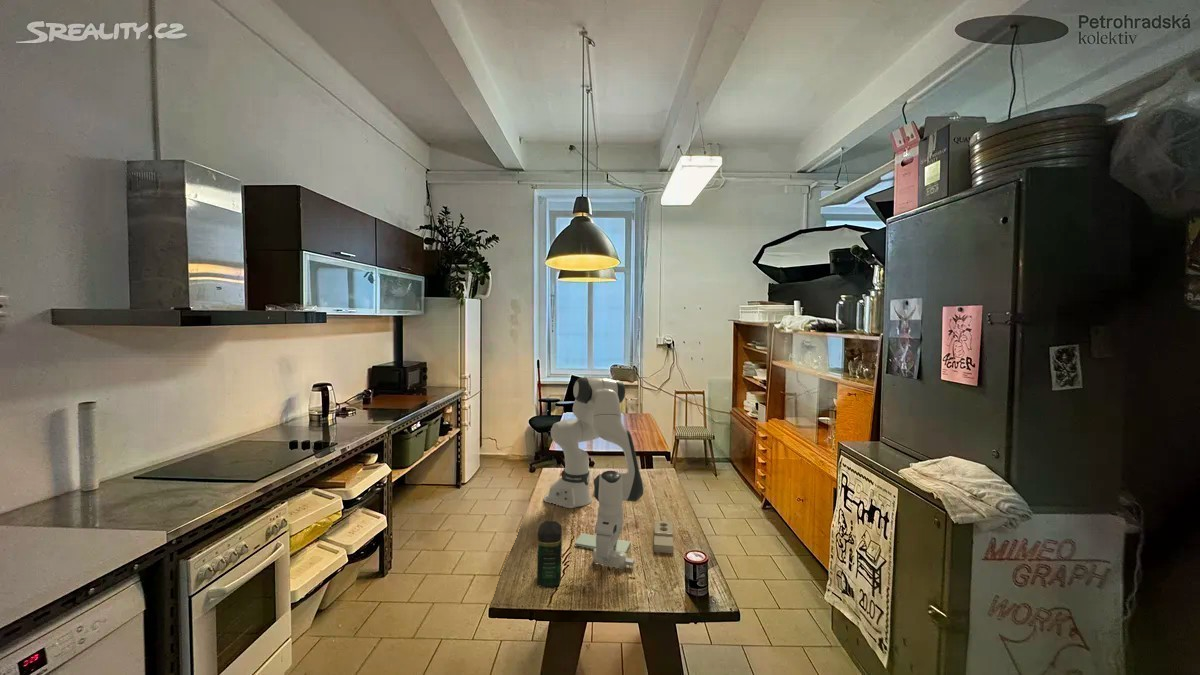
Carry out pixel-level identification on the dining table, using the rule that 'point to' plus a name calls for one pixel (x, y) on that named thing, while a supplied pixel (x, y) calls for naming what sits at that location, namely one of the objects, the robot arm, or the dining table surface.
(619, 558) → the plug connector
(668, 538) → the electrical outlet
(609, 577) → the dining table surface
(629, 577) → the dining table surface
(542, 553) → the coffee jar
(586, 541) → the sage board
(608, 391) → the robot arm
